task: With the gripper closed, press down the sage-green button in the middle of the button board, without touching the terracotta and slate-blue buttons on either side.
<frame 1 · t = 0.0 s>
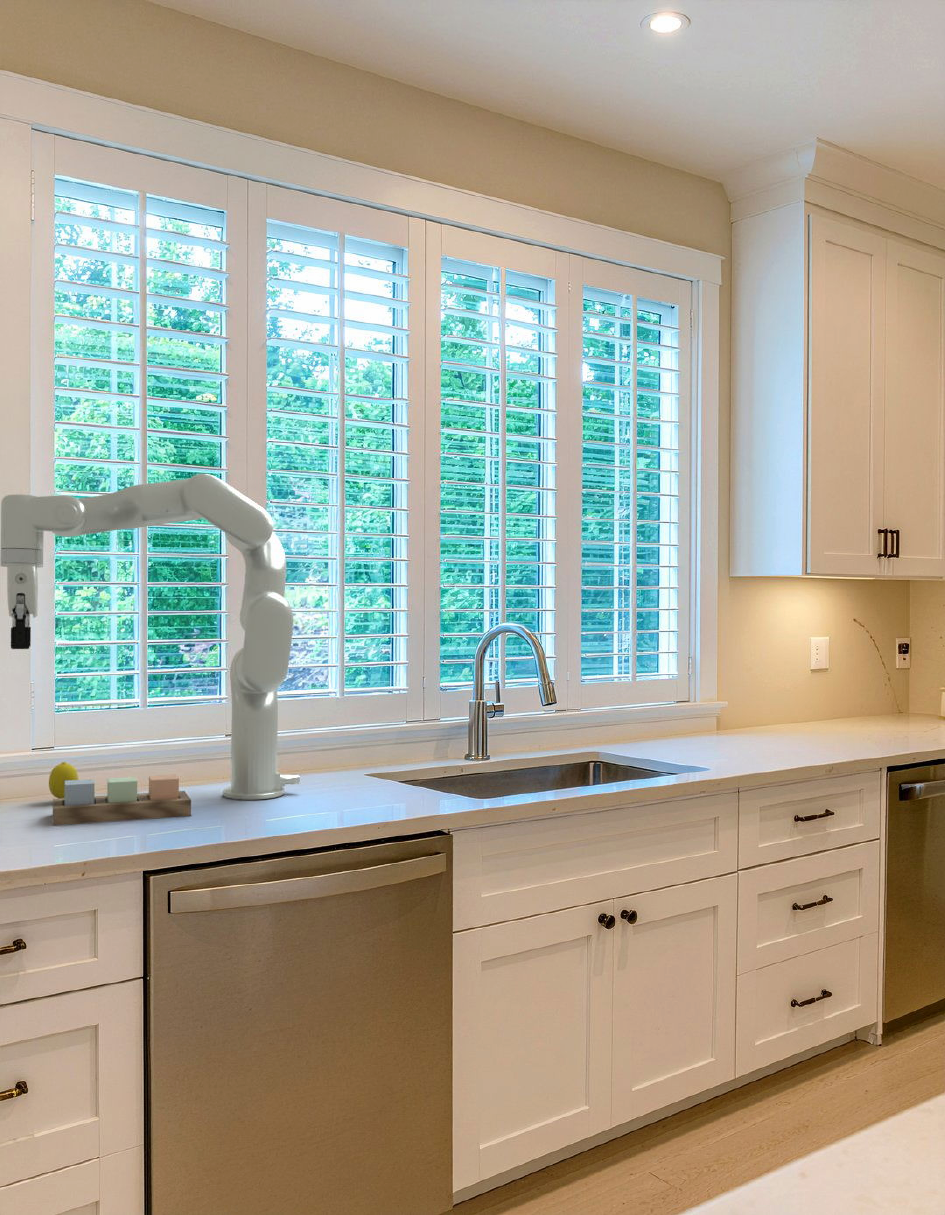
hand: (20, 648, 190), 31 cm above the worktop, fingers open, 9 cm apart
button slate: (79, 795, 183), point 4 cm above the worktop, slide at 0.0 cm
button sage: (122, 793, 186), point 4 cm above the worktop, slide at 0.0 cm
lemon: (63, 802, 198), on the worktop
button terracotta: (163, 790, 189), point 4 cm above the worktop, slide at 0.0 cm
button board: (121, 815, 186), on the worktop
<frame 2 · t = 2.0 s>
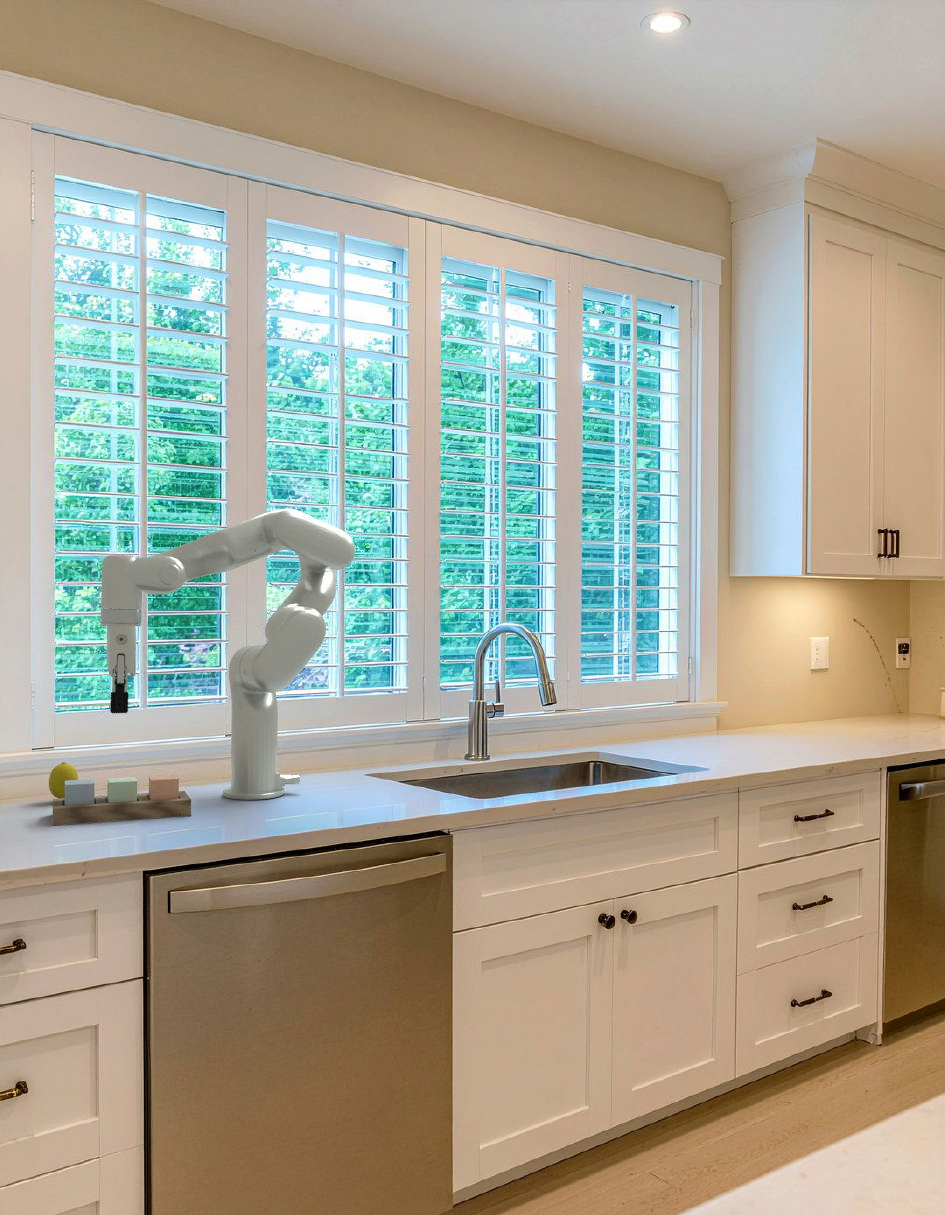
hand: (119, 712, 192), 19 cm above the worktop, fingers closed
nothing on the worktop moved.
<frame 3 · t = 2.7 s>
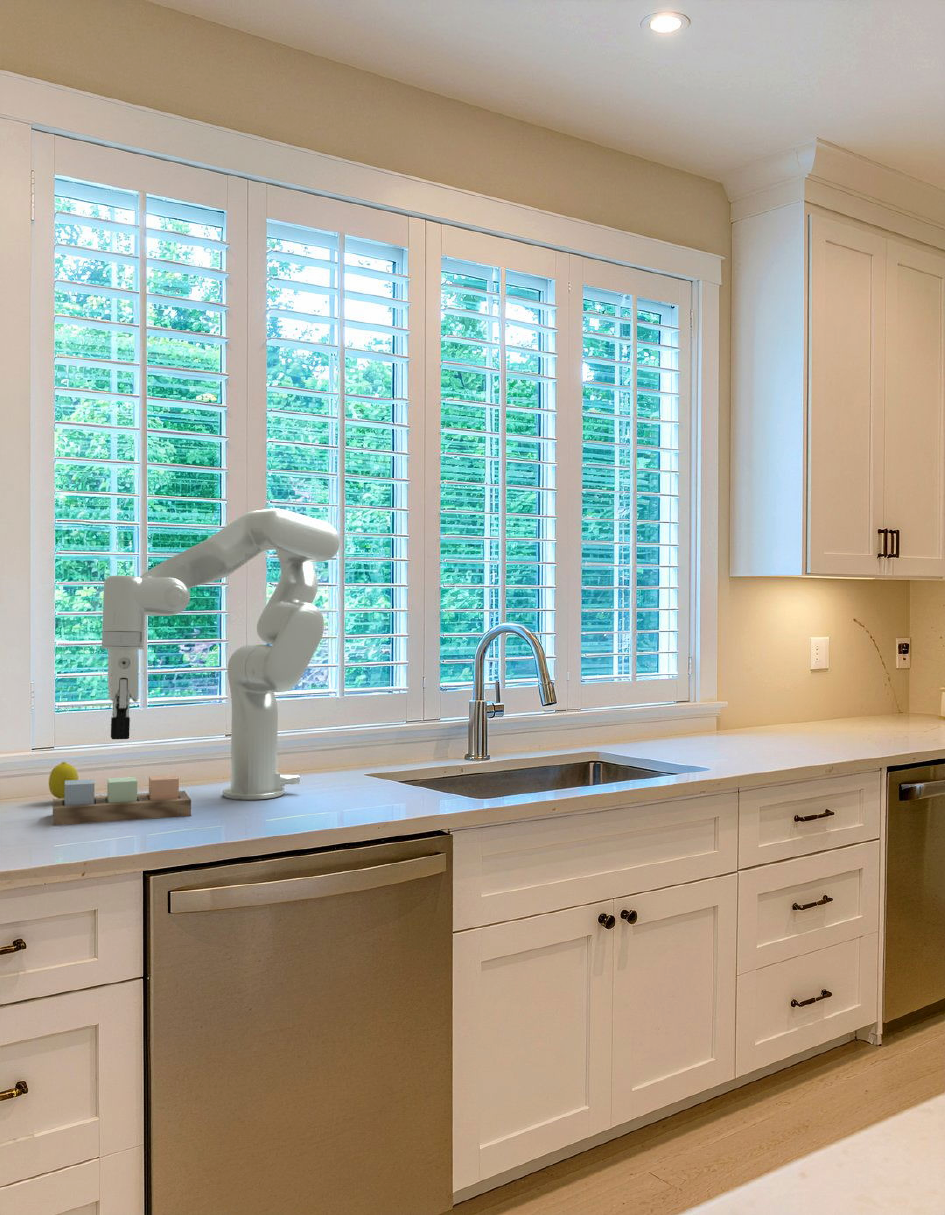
hand: (119, 738, 185), 15 cm above the worktop, fingers closed
nothing on the worktop moved.
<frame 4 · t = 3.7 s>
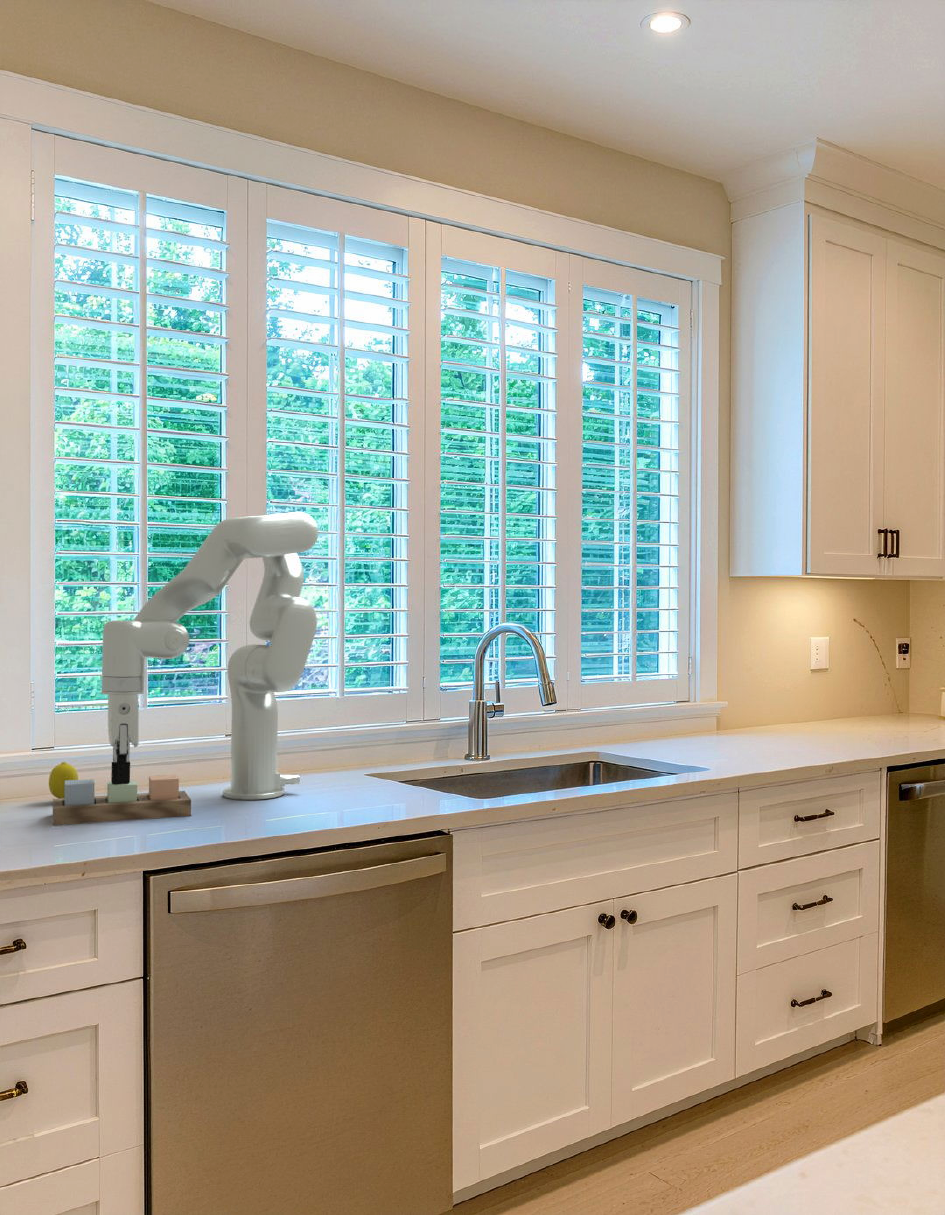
hand: (120, 783, 185), 6 cm above the worktop, fingers closed
button sage: (122, 796, 186), point 4 cm above the worktop, slide at 0.7 cm, touching gripper
everything else where it was.
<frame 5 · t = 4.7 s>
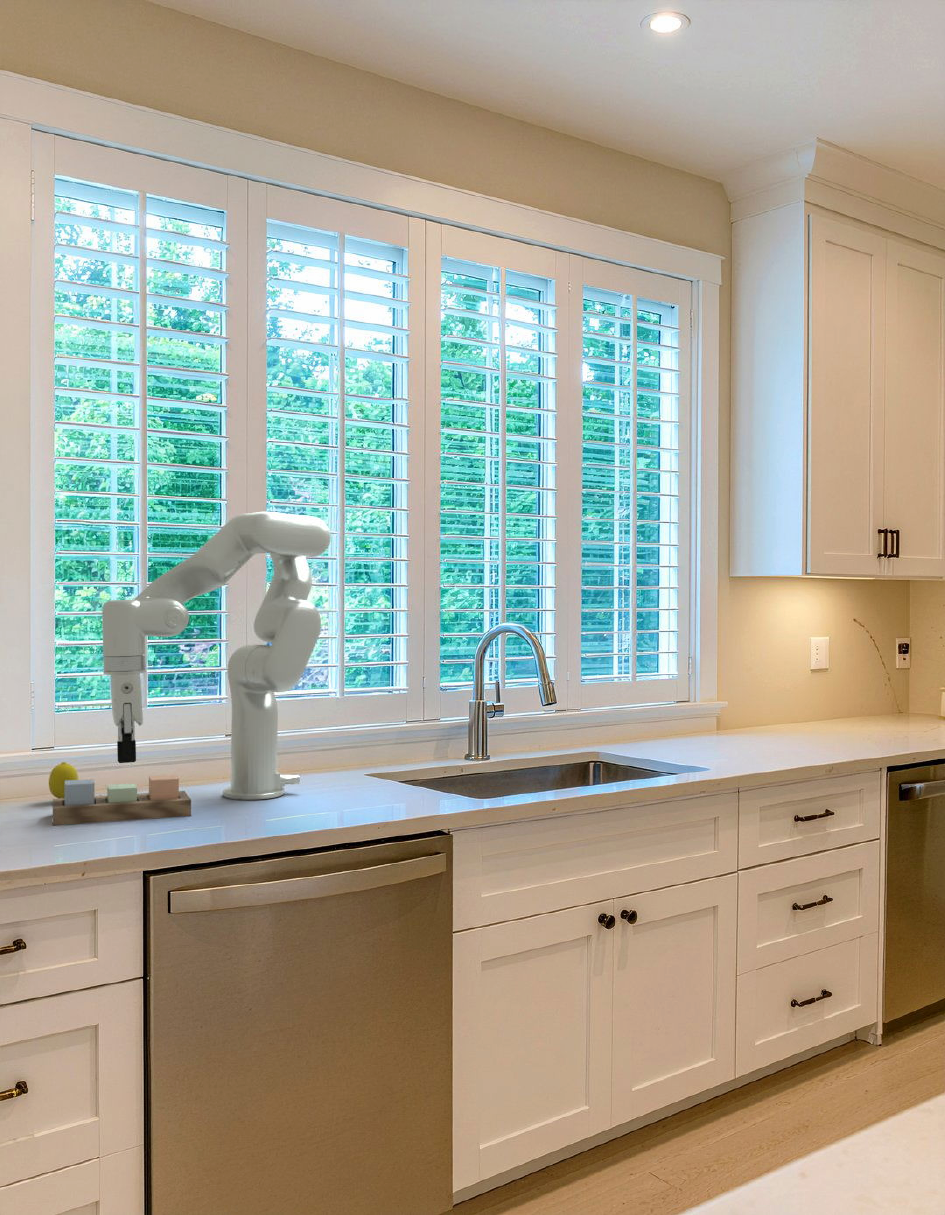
hand: (126, 761, 186), 10 cm above the worktop, fingers closed
button sage: (122, 799, 186), point 3 cm above the worktop, slide at 1.3 cm
everything else where it was.
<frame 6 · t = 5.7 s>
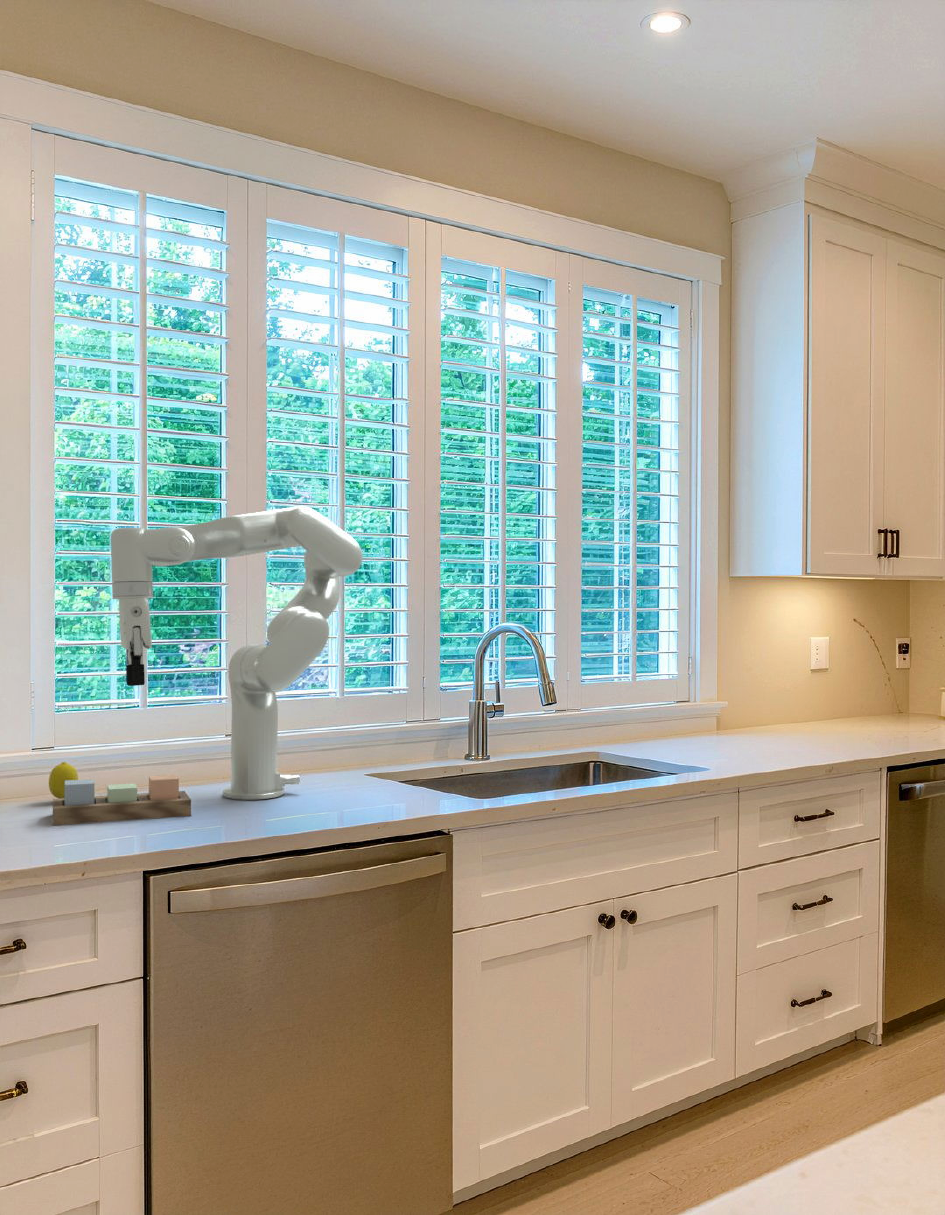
hand: (135, 684, 193), 24 cm above the worktop, fingers closed
nothing on the worktop moved.
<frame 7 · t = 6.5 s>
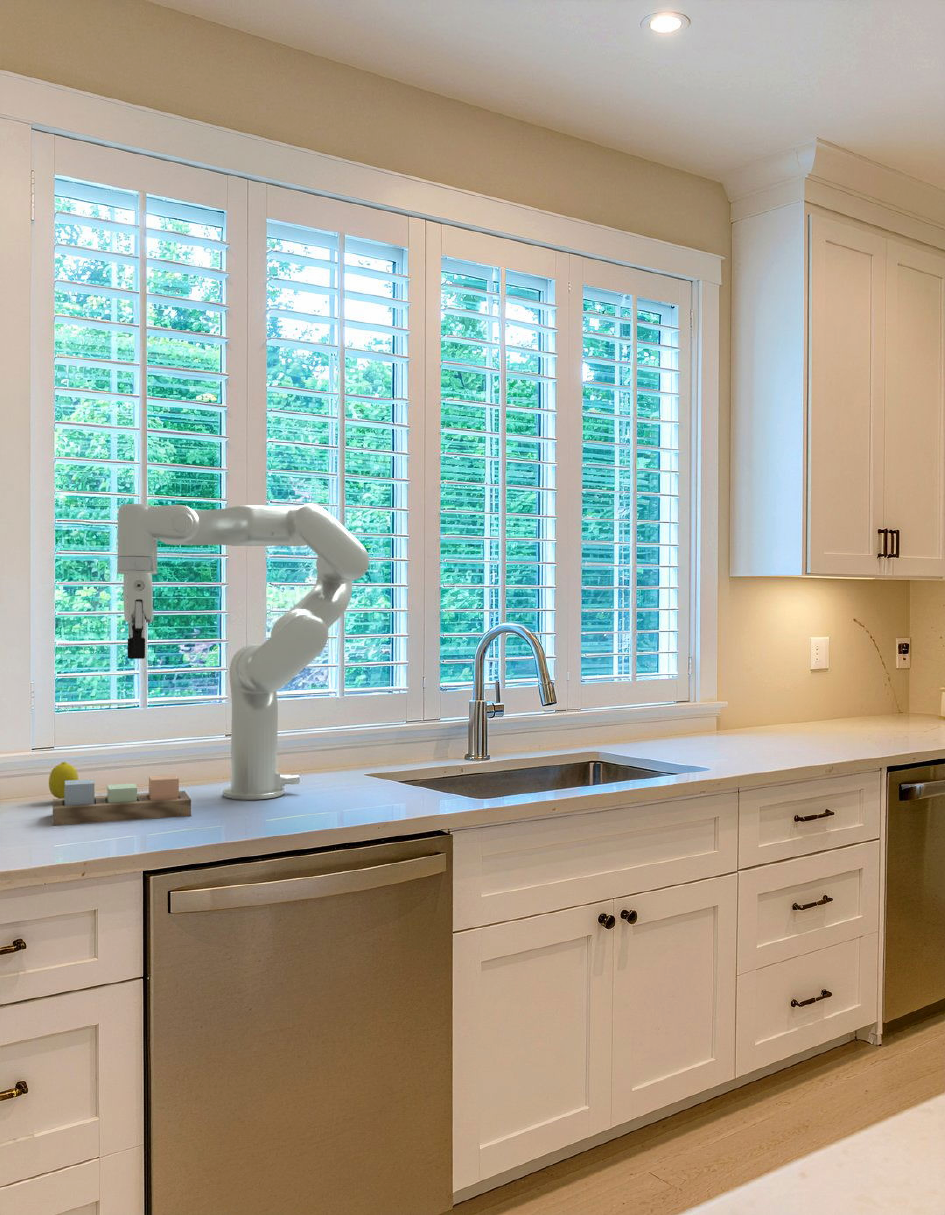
hand: (136, 658, 196), 29 cm above the worktop, fingers closed
nothing on the worktop moved.
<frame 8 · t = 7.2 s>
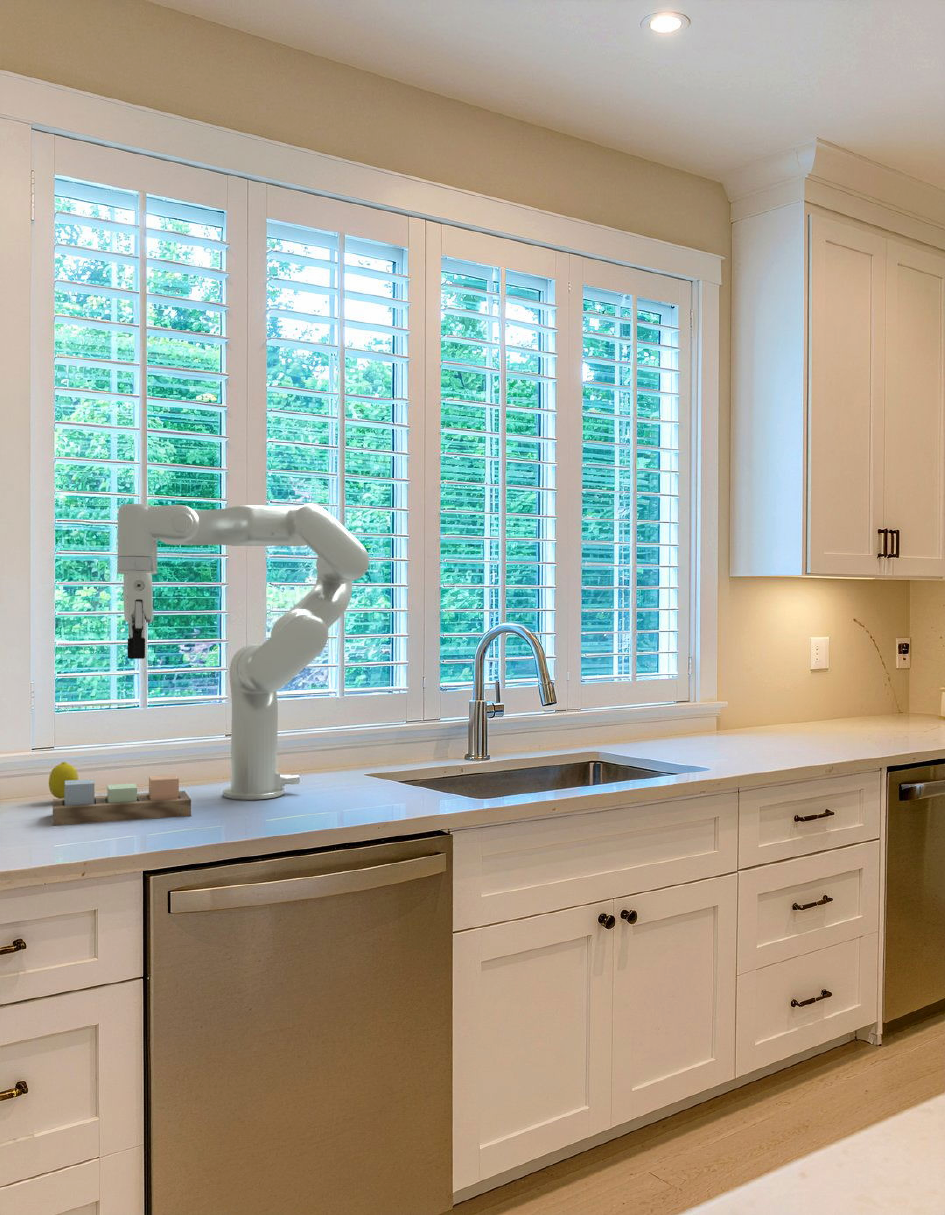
hand: (136, 658, 196), 29 cm above the worktop, fingers closed
nothing on the worktop moved.
at the end: button sage slide at 1.3 cm; button terracotta slide at 0.0 cm; button slate slide at 0.0 cm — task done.
